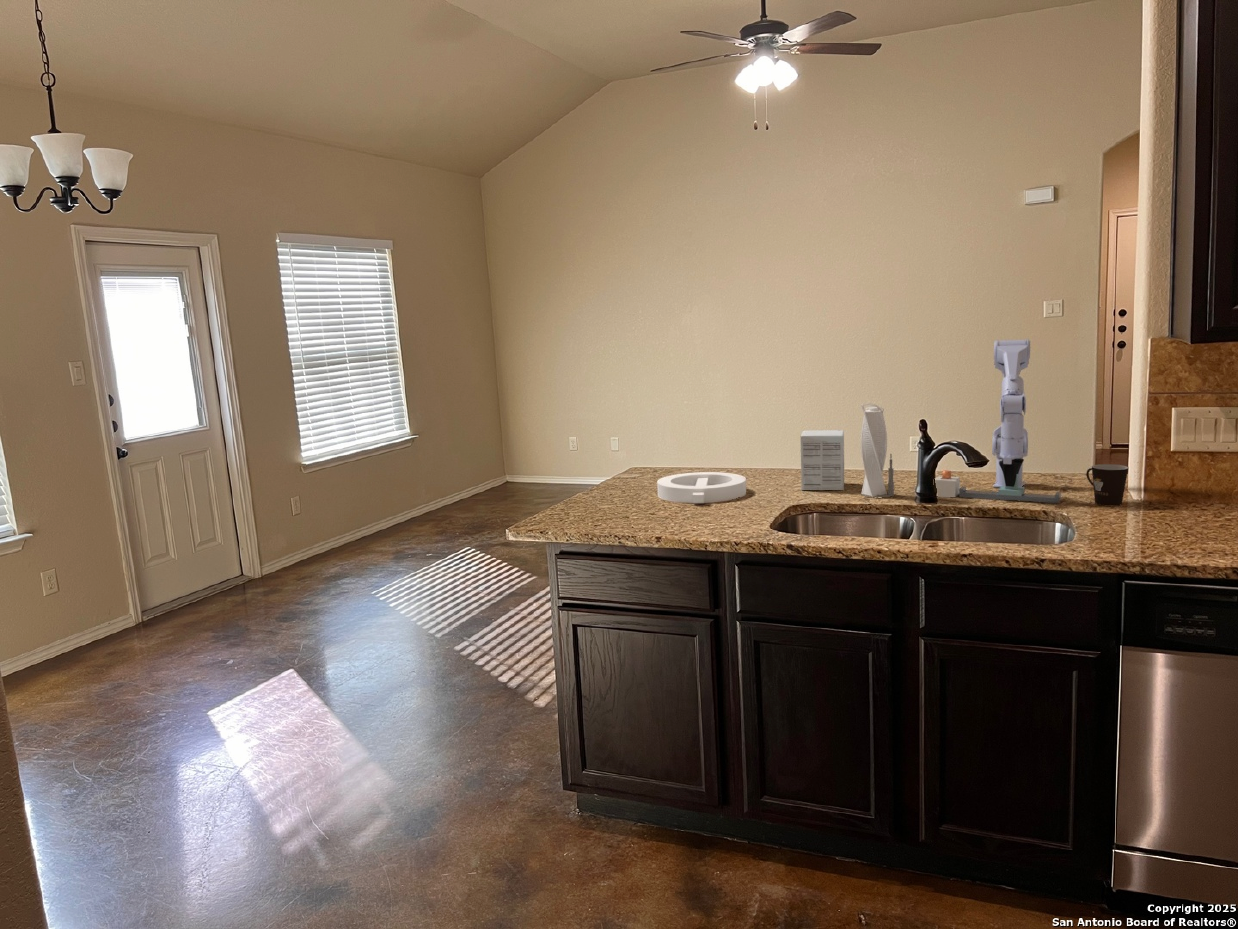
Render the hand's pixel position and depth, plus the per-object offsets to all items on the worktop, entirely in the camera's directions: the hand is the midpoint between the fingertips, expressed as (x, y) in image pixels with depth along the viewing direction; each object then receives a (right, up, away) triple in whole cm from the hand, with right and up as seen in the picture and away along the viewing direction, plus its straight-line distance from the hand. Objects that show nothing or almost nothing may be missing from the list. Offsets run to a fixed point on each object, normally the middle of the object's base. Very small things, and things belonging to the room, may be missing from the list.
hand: (1010, 485), depth 247 cm
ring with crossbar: (-85, -4, +31) cm, 90 cm away
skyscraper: (-34, -4, +15) cm, 37 cm away
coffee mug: (+22, -5, -9) cm, 24 cm away
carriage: (0, -2, 0) cm, 2 cm away
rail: (0, -4, +1) cm, 4 cm away
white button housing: (-14, -3, +10) cm, 18 cm away
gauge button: (-15, +2, +9) cm, 18 cm away
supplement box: (-46, -2, +32) cm, 56 cm away
